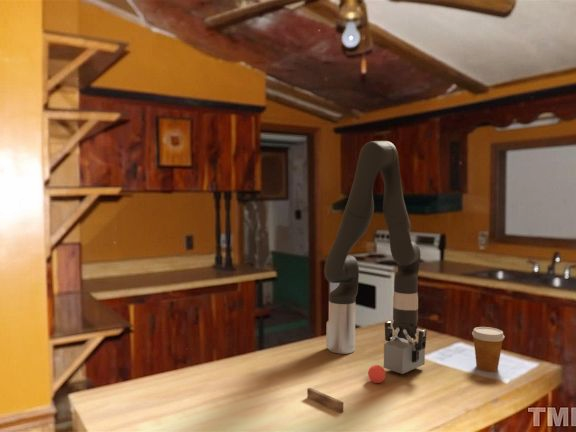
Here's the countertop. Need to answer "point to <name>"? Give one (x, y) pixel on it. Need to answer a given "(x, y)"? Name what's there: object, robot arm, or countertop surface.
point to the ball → (376, 374)
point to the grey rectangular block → (401, 356)
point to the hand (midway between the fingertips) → (404, 358)
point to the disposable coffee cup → (487, 347)
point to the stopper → (325, 400)
